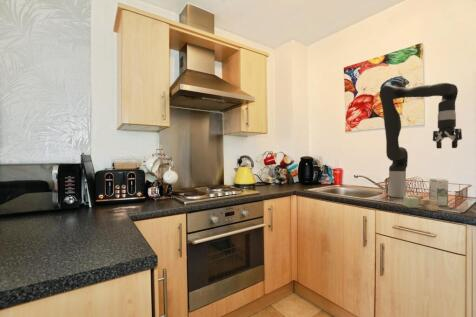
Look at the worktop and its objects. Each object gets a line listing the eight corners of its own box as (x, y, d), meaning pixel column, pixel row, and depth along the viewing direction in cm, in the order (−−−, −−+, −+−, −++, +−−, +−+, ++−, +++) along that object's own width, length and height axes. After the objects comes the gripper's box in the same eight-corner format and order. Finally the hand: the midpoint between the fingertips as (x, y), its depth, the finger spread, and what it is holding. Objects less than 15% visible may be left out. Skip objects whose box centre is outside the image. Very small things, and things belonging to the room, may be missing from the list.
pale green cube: (408, 203, 130) (408, 195, 130) (412, 202, 132) (412, 194, 132) (418, 205, 126) (418, 196, 126) (422, 204, 128) (422, 195, 128)
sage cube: (403, 205, 127) (403, 196, 126) (413, 205, 126) (413, 196, 125) (408, 207, 122) (408, 198, 122) (418, 207, 121) (418, 198, 121)
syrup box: (439, 203, 128) (439, 178, 128) (448, 206, 122) (448, 179, 122) (429, 203, 129) (428, 178, 129) (437, 206, 123) (437, 179, 123)
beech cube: (420, 208, 119) (420, 199, 119) (428, 208, 120) (428, 198, 120) (431, 211, 114) (430, 201, 114) (438, 210, 115) (438, 200, 115)
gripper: (428, 121, 134) (428, 148, 134) (453, 117, 119) (453, 148, 120) (440, 121, 134) (440, 148, 134) (466, 117, 120) (466, 147, 120)
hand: (446, 148), depth 127 cm, fingers open, 8 cm apart
